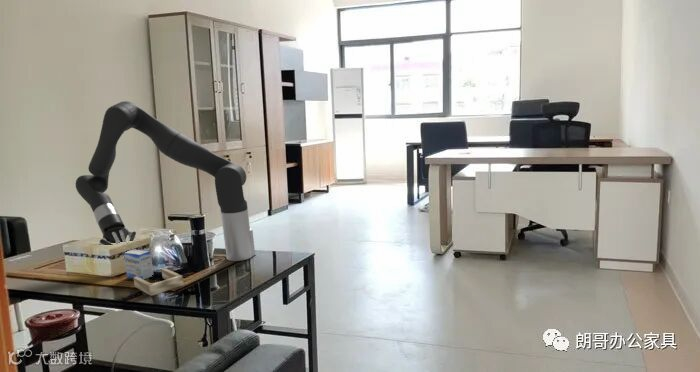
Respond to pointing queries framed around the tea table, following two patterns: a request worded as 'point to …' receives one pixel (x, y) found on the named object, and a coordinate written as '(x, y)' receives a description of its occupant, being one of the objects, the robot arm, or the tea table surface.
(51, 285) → the tea table surface
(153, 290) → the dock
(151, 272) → the medicine box
